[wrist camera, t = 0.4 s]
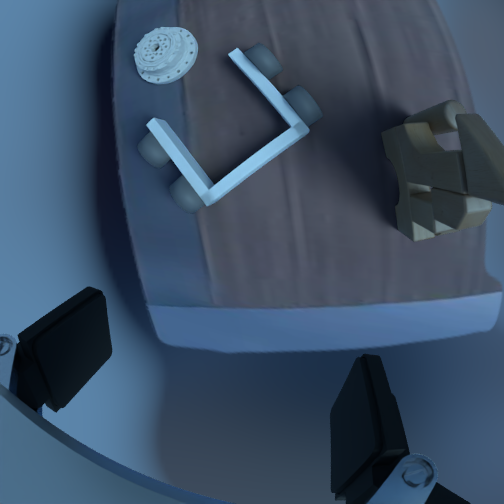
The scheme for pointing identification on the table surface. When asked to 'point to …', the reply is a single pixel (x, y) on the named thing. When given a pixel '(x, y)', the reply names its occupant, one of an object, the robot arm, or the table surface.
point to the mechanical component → (165, 54)
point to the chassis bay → (205, 192)
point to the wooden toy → (444, 171)
